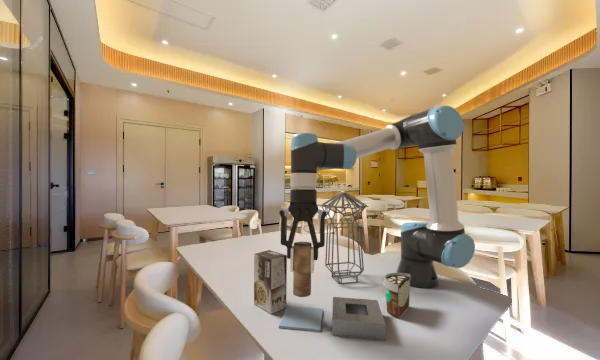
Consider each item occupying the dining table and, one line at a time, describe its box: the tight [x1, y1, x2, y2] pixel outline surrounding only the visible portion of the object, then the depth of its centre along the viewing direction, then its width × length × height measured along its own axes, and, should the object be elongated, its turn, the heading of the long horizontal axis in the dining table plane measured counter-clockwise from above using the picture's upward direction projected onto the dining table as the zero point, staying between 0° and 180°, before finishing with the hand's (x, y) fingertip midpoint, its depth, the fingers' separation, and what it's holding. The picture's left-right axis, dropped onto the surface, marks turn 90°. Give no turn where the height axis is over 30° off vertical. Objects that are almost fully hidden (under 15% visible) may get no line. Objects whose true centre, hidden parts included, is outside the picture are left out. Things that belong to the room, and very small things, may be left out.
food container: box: [382, 272, 411, 320], centre depth 79 cm, size 12×6×10 cm, turn 141°
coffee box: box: [253, 249, 288, 315], centre depth 80 cm, size 9×6×16 cm
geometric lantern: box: [320, 191, 369, 285], centre depth 103 cm, size 16×16×35 cm
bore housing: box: [331, 296, 386, 341], centre depth 70 cm, size 13×13×4 cm
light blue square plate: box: [278, 305, 324, 333], centre depth 73 cm, size 11×11×1 cm
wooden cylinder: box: [292, 241, 313, 298], centre depth 73 cm, size 5×5×14 cm
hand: (302, 270), depth 73 cm, fingers closed on wooden cylinder, 5 cm apart
